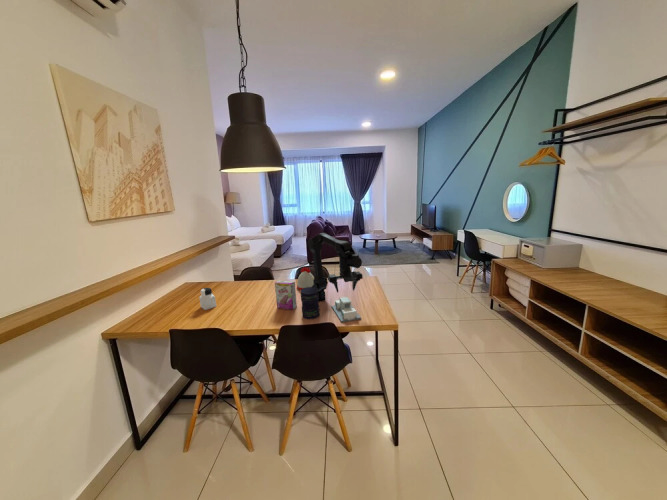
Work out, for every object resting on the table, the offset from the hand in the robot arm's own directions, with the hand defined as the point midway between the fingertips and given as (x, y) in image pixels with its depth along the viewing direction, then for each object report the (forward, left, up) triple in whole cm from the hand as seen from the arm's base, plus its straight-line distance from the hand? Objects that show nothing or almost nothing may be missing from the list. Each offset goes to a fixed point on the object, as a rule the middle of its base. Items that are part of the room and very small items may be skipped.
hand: (345, 291), depth 151 cm
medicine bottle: (-79, +36, -12) cm, 88 cm away
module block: (-1, -2, -11) cm, 11 cm away
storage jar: (-20, +2, -12) cm, 23 cm away
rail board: (-1, -2, -12) cm, 12 cm away
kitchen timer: (-15, +48, -12) cm, 51 cm away
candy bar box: (-32, +17, -12) cm, 38 cm away
